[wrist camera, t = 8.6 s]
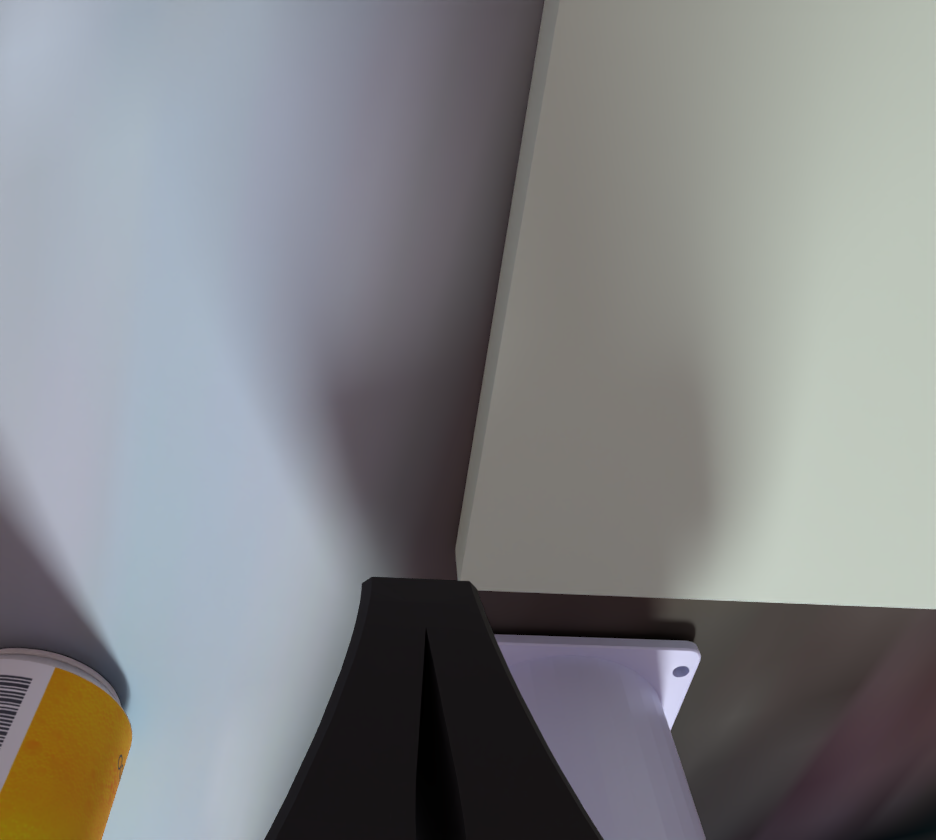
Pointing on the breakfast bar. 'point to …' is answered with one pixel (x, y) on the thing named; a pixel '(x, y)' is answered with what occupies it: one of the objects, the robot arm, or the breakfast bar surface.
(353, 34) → the breakfast bar surface
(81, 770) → the beer can
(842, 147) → the hole plate
